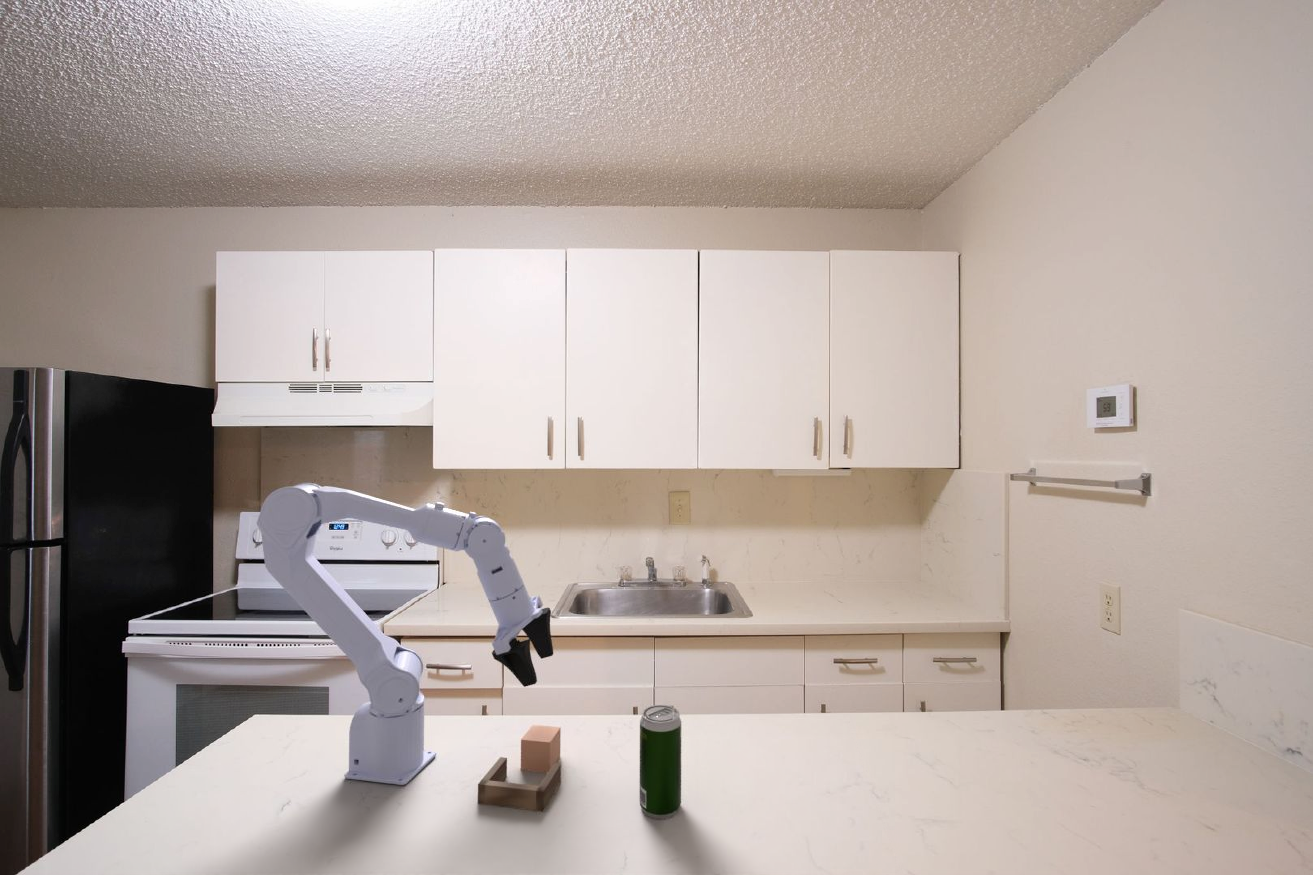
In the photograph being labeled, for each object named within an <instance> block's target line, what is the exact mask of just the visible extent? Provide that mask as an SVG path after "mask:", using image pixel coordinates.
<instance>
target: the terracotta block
mask: <svg viewBox="0 0 1313 875" xmlns="http://www.w3.org/2000/svg"><path fill="white" fill-rule="evenodd" d="M561 733H562V732H561V727H560V726H548V725H539V724H532V725H531V726H530V727H529V729H528V730H527V731H526V733H525V734H524V735H523V736H522V738H521V739H520V771H526V770H527V771H528V772H539V773H546V774H547V773H548V772H549V770H550V769H551V767H552V765H553V764H554V763H558V761H559V759H560V757H561V736H562V734H561ZM527 771H526V772H527Z"/></svg>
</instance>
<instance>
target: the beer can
mask: <svg viewBox="0 0 1313 875" xmlns="http://www.w3.org/2000/svg"><path fill="white" fill-rule="evenodd" d="M680 715H681V714H680V711H679V710H678V709H677V708H676V707H674V706H670V705H666V704H655V705H650V706H647V707H646V708H644V709H643V710H642V712H641V717H640V720H639V806H640V808H641V811H642V813H643V814H644V815H645V816H647V817H649V818H651V819H653V820H667V819H671V818H673V817H674V816H675V815H677V813H678V812H679V809H681V805H682V720H681V718H680Z"/></svg>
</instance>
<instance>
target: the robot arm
mask: <svg viewBox="0 0 1313 875" xmlns="http://www.w3.org/2000/svg"><path fill="white" fill-rule="evenodd" d="M445 506H446V505H445V503H443V502H439V501H436V502H435V504H431V503H426V504H424V505H423V504H422V505H421V506H419V507H418V508H413V507H412V508H411V507H410V506H405V505H402V504H399V503H395V502H392V501H388V500H384V499H381V498H377V497H375V496H372V495H368V494H364V493H361V492H357V491H355V490H352V489H346V488H340V487H335V486H327V485H324V486H321V485H318V484H317V483H312V482H303V483H297V484H295V485H293V486H284V487H280V488H277V489H276V490H274V491H272V492H271V493H270V494H268V496H267V497H265V500H264V501H263V504H262V507H261V508H260V511H259V515H258V516H257V517H258V518H257V520H256V525H257V528H258V529H259V531H260V534H261V542H262V544H261V545H262V551H263V556H264V557H263V558H264V566H265V569H267V570H266V571H267V573H269V574H270V576H272V577H273V578H274V580H275V581H277V583H278V584H279V585H280V586H281V587H282V588H283V589H284V590H285V591H286V592H287V593H288V595H289V596H290V597H291V598H292V599H293V600H294V601H295V602H296V603H297V604H298V606H300V607H301V609H302V610H303V611H304V612H305V613H306V614H307V615H308V616H309V617H310V618H311V620H313V621H314V622H315V623H316V625H318V627H319V628H320V629H321V630H322V631H323V632H324V633H325V635H327V636H328V637H329V639H331V640H332V641H333V643H334V644H335V645H336V646H337V647H338V648H339V649H340V650H341V651H342V652H343V653H344V654H345V656H346V657H347V658H348V659H349V660H350V661H351V663H353V664H354V666H355V669H356V673H357V675H358V679H359V682H360V683H361V685H363V687H364V688H365V689H366V690H367V693H368V696H369V701H367V702H364V703H363V704H362V705H360V706H359V707H358V709H357V710H356V712H355V713H354V714H353V717H352V719H351V723H350V726H349V732H348V733H349V734H348V737H349V738H348V739H349V743H348V771H346V773H345V774H344V778H345V779H350V780H358V781H363V782H364V781H367V782H373V783H381V784H382V783H383V784H389V785H390V784H392V785H400V786H404V785H407V784H408V783H409V782H410V781H411V780H412V779H413V778H414V777H415V776H417V774H418V773H419V772H420V771H422V770H423V768H425V767H426V766H427V765H428V764H429V763H430V762H431V761H432V760H433V759H434V758H435V757H436V756H437V752H436V751H434V750H425V696H424V694H423V693H422V692H421V690H420V689H421V688H420V684H421V678H422V674H423V672H424V671H423V670H424V662H423V660H422V658H421V656H420V655H419V653H417V651H414V650H413V649H409V648H407V647H404V646H403V645H401V644H400V643H399V642H398V640H396V638H393V637H390V636H388V635H386V634H384V632H383V631H382V630H381V629H380V628H379V626H378V625H376V623H375V622H374V621H373V620H372V619H371V618H370V617H369V616H368V615H367V614H366V612H365V611H364V610H363V609H362V608H361V607H360V606H359V605H358V603H357V602H355V600H354V599H353V598H352V597H351V595H349V593H347V592H346V590H345V589H344V588H343V587H342V586H341V585H340V584H339V583H338V581H337V580H336V579H335V578H334V577H333V576H332V575H331V573H329V571H328V570H326V568H325V567H324V566H323V565H322V564H321V563H320V561H318V560H317V558H316V557H315V556H314V555H313V550H314V548H315V543H316V539H317V534H318V531H319V529H320V528H321V526H322V525H324V524H329V523H332V522H336V521H341V520H346V519H354V520H357V521H363V522H368V523H372V524H377V525H381V526H386V527H391V528H397V529H401V530H405V531H408V532H409V534H410V537H411V538H412V539H413V541H414V542H416V543H419V544H420V543H421V544H425V545H429V546H433V547H436V548H441V549H446V550H449V551H454V552H460V551H464V552H465V553H466V555H468V557H469V558H471V559H472V560H473V563H474V565H475V567H476V568H475V569H477V572H476V573H477V577H478V579H479V582H480V584H481V585H482V588H483V591H484V593H485V595H486V598H487V600H488V602H489V605H490V608H491V609H492V612H493V614H494V617H495V619H496V621H497V624H498V625H497V630H496V634H495V636H494V637H495V638H494V639H493V641H492V642H491V645H492V647H493V650H492V651H491V654H492V657H493V659H494V660H496V661H497V662H498V663H500V664H502V665H503V666H504V667H506V668H507V669H508V670H509V671H510V672H511V673H512V674H513V675H514V676H515V678H516V679H517V680H518V681H519V683H520V684H521V685H522V687H524V688H525V687H529V686H533V685H535V684H537V682H538V679H537V677H538V676H537V672H536V670H535V667H534V663H533V660H532V655H531V644H532V646H533V648H534V649H535V651H536V654H537V655H538V657H539V658H540V659H546V658H550V657H553V655H554V647H553V646H554V645H553V641H552V634H551V616H552V610H551V608H550V607H544V608H542V607H543V606H544V604H543V602H542V601H543V600H541V596H540V595H535V596H532V597H530V595H529V592H528V590H527V588H526V586H525V583H524V581H523V578H522V575H521V573H520V571H519V568H518V566H517V564H516V562H515V558H514V557H513V556H512V555H511V551H510V549H509V547H508V546H507V545H506V536H505V532H504V531H503V529H502V528H501V527H500V525H499V523H498V522H497V521H495V520H494V519H491V518H489V517H488V516H486V515H479V516H477V513H476V512H474V511H473V512H472V511H470V512H469V514H468V513H466V512H461V511H457V510H455V509H450V508H447V507H445ZM521 631H522V632H524V633H525V635H526V636H527V638H528V639H525V640H521V641H520V639H517V637H518V635H519V634H520V633H521Z"/></svg>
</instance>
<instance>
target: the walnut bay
mask: <svg viewBox="0 0 1313 875" xmlns="http://www.w3.org/2000/svg"><path fill="white" fill-rule="evenodd" d="M507 770H508V757H503V756H500V757H499V758H498V759H497V761H495V763H494V764H493V765H492V766H491V768H490V769H489V770H488V771H487V772H486V774H485V775H484V776H483V778H482V779H480V781H479V782H478V784H477V804H480V805H487V806H495V807H505V808H513V809H520V810H529V811H536V812H537V811H538V812H544V811H545V810H546V808H547V806H548V805H549V803H550V802H551V800H552V798H553V796H554V794H555V792H557V789H558V787H559V786H560V784H561V782H562V763H561V762H560V763H558V762H557V763H554V764H553V765H552V767H551V769H550V770H549V772H548V773H546V775H545V776H544V778H543V779H542V781H541V782H540V784H539V785H532V784H524V783H514V782H505V781H504V780H505V779H506V778H507V776H508V775H507V774H508V771H507Z"/></svg>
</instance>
